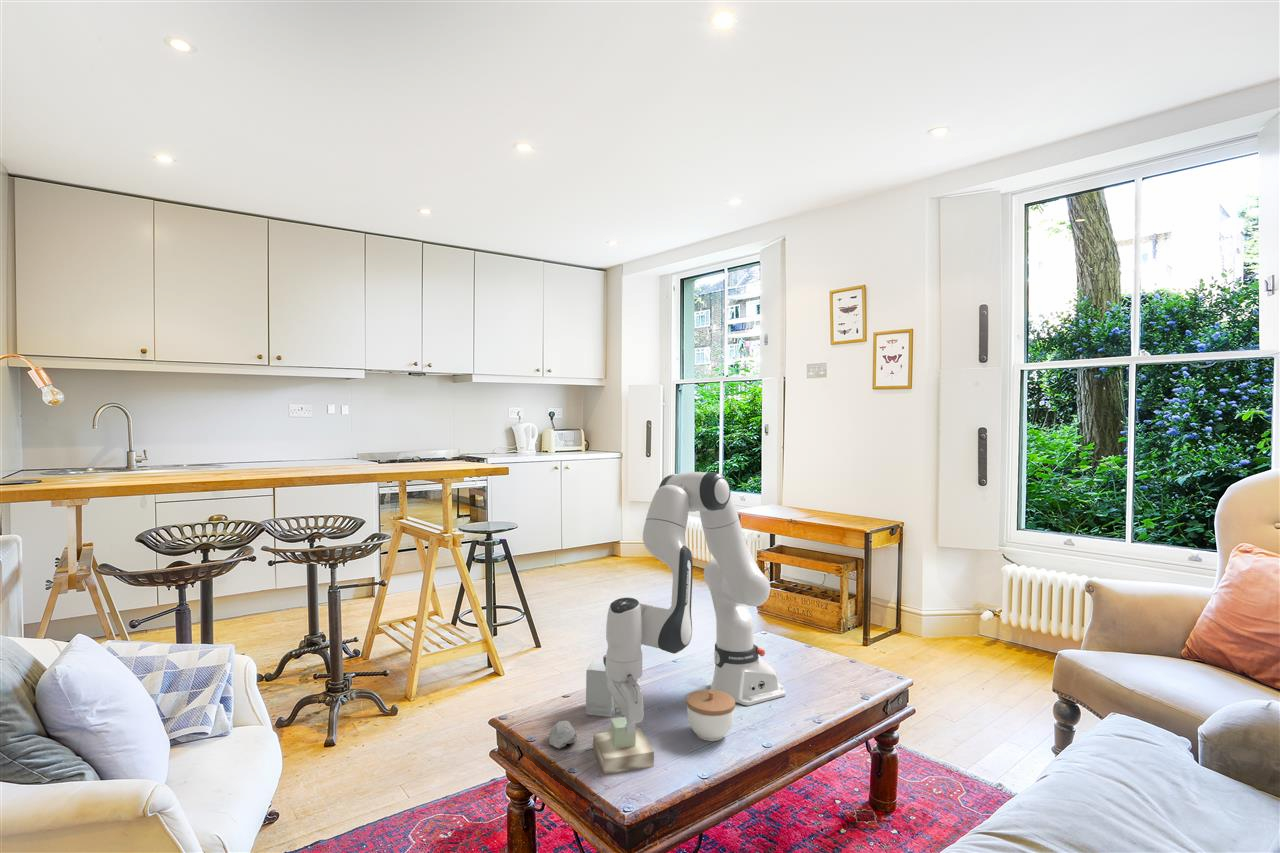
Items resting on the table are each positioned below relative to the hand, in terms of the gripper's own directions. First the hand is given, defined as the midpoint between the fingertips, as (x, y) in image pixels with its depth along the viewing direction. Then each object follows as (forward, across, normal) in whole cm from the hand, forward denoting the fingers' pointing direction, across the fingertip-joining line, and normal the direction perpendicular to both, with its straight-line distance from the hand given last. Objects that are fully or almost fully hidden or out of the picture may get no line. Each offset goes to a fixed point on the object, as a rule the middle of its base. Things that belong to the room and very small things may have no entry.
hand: (624, 723), depth 156 cm
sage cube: (+5, 0, 0) cm, 5 cm away
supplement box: (+8, +25, -1) cm, 26 cm away
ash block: (+9, 0, 0) cm, 9 cm away
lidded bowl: (+9, +4, -25) cm, 26 cm away
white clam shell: (+8, +11, +13) cm, 19 cm away
